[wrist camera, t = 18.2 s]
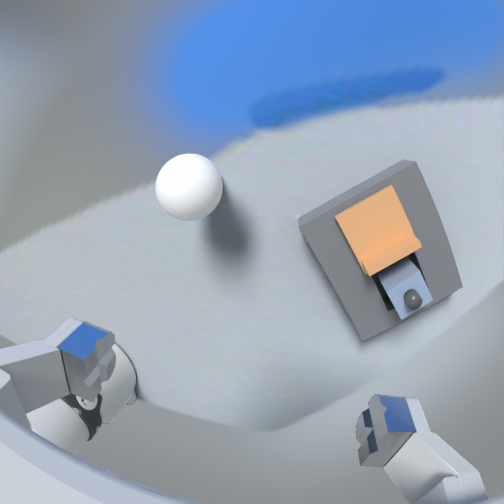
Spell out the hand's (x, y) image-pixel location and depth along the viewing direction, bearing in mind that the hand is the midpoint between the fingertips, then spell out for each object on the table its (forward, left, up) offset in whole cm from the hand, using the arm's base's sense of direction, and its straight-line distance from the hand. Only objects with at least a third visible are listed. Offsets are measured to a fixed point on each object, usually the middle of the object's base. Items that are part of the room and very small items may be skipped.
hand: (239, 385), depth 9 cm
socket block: (+8, -10, -28) cm, 31 cm away
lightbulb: (-5, +7, -28) cm, 30 cm away
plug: (+8, -13, -28) cm, 32 cm away
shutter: (+8, -6, -24) cm, 26 cm away
